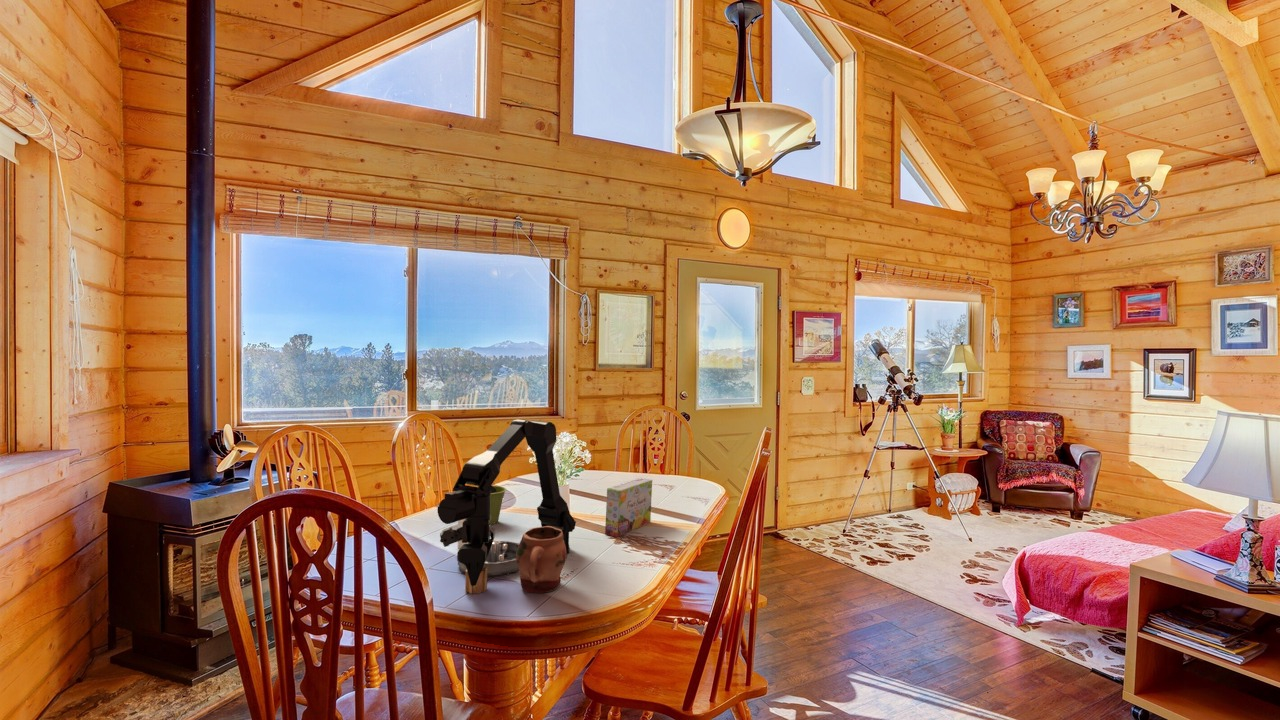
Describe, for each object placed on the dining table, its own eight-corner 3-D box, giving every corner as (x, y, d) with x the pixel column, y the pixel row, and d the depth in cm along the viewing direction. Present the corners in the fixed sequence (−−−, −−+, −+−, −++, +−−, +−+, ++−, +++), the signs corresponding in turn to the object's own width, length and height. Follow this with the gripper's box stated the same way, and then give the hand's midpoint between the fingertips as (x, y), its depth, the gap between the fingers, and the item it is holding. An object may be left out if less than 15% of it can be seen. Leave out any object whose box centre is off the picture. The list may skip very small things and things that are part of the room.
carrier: (529, 552, 170) (530, 532, 170) (524, 576, 153) (525, 553, 152) (465, 553, 168) (465, 532, 168) (452, 577, 150) (453, 554, 150)
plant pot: (479, 529, 191) (480, 495, 191) (463, 521, 200) (463, 488, 200) (512, 523, 199) (513, 490, 199) (494, 515, 208) (495, 483, 208)
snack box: (619, 538, 186) (620, 490, 186) (604, 535, 189) (605, 487, 189) (651, 522, 205) (652, 478, 204) (637, 519, 207) (638, 476, 207)
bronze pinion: (487, 585, 146) (488, 565, 146) (485, 593, 141) (485, 572, 141) (467, 585, 145) (467, 565, 145) (463, 594, 141) (464, 573, 141)
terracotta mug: (562, 606, 135) (563, 546, 135) (508, 606, 135) (509, 545, 134) (568, 574, 155) (570, 521, 155) (522, 573, 154) (523, 520, 154)
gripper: (451, 504, 152) (449, 564, 152) (434, 525, 133) (433, 594, 133) (495, 503, 153) (494, 564, 153) (485, 524, 134) (484, 593, 134)
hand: (476, 578), depth 143 cm, fingers open, 9 cm apart
